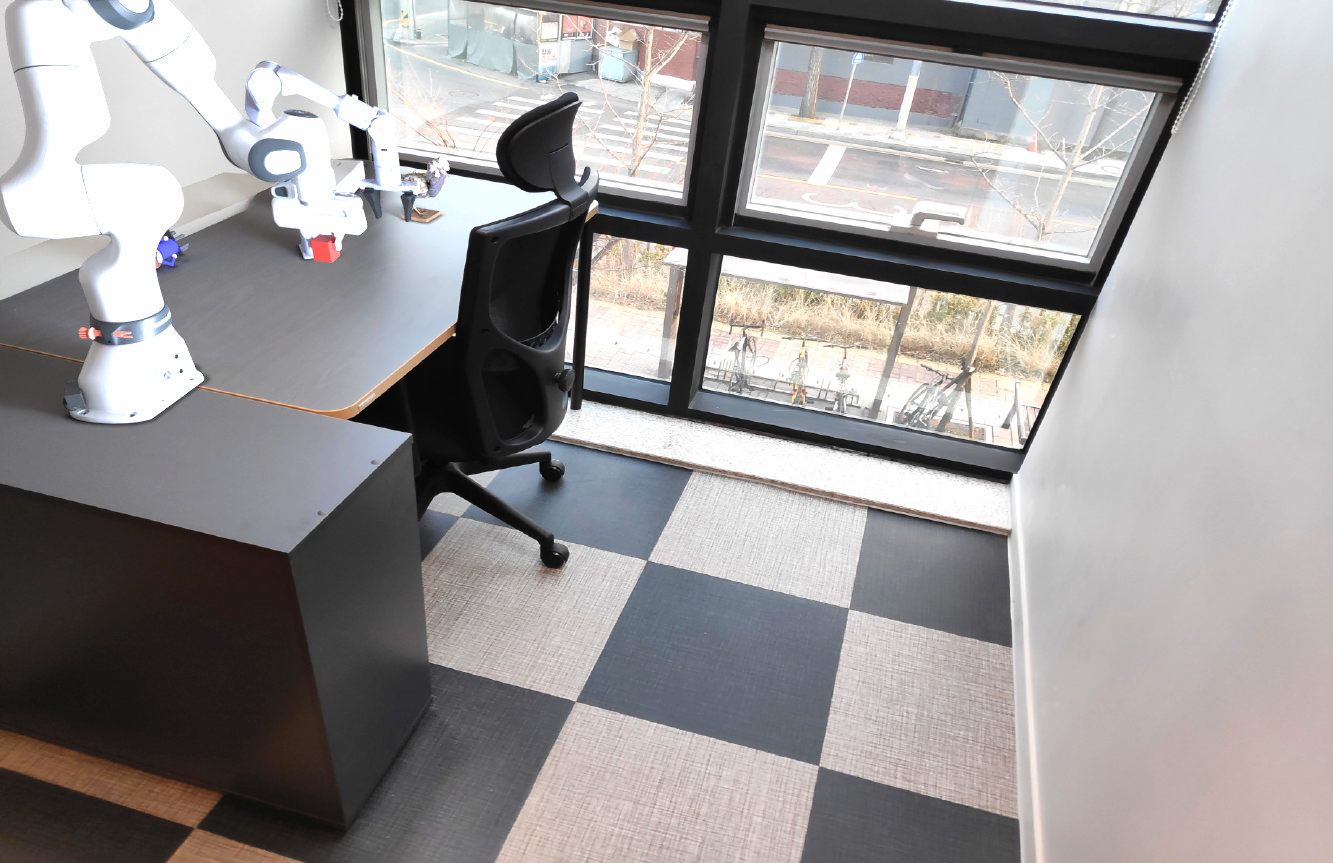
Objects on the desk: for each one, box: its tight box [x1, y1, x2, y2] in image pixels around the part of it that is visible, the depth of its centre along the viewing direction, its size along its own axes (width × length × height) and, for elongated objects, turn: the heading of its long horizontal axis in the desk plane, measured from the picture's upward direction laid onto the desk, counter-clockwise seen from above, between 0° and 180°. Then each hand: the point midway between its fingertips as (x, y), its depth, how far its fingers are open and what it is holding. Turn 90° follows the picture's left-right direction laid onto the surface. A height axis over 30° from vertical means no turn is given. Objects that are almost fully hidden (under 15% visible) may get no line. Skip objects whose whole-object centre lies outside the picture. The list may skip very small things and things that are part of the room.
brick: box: [310, 234, 341, 263], centre depth 186 cm, size 4×4×5 cm
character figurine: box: [155, 228, 190, 269], centre depth 191 cm, size 8×7×15 cm
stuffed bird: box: [400, 156, 454, 223], centre depth 226 cm, size 10×20×17 cm, turn 93°
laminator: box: [330, 158, 366, 194], centre depth 238 cm, size 34×12×6 cm, turn 2°
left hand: (325, 248), depth 186 cm, fingers closed on brick, 4 cm apart
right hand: (393, 219), depth 205 cm, fingers open, 7 cm apart
